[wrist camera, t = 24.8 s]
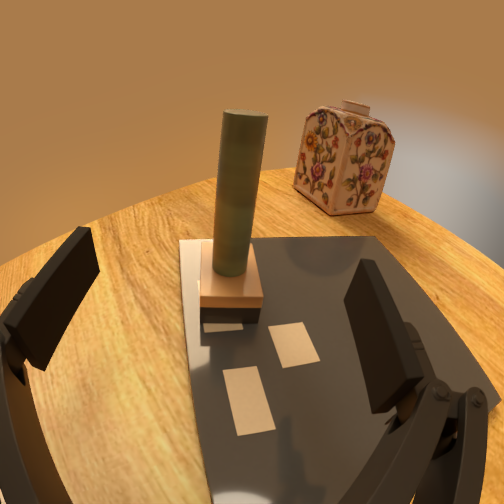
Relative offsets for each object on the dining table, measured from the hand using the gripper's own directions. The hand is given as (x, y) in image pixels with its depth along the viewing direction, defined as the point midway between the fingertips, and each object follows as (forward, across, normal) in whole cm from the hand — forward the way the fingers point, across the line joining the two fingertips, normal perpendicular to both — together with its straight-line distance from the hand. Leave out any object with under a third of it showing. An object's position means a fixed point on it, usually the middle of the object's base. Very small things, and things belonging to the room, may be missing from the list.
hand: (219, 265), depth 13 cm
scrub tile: (+5, +10, -10) cm, 15 cm away
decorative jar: (+36, +17, -10) cm, 41 cm away
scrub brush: (+8, 0, -9) cm, 12 cm away
